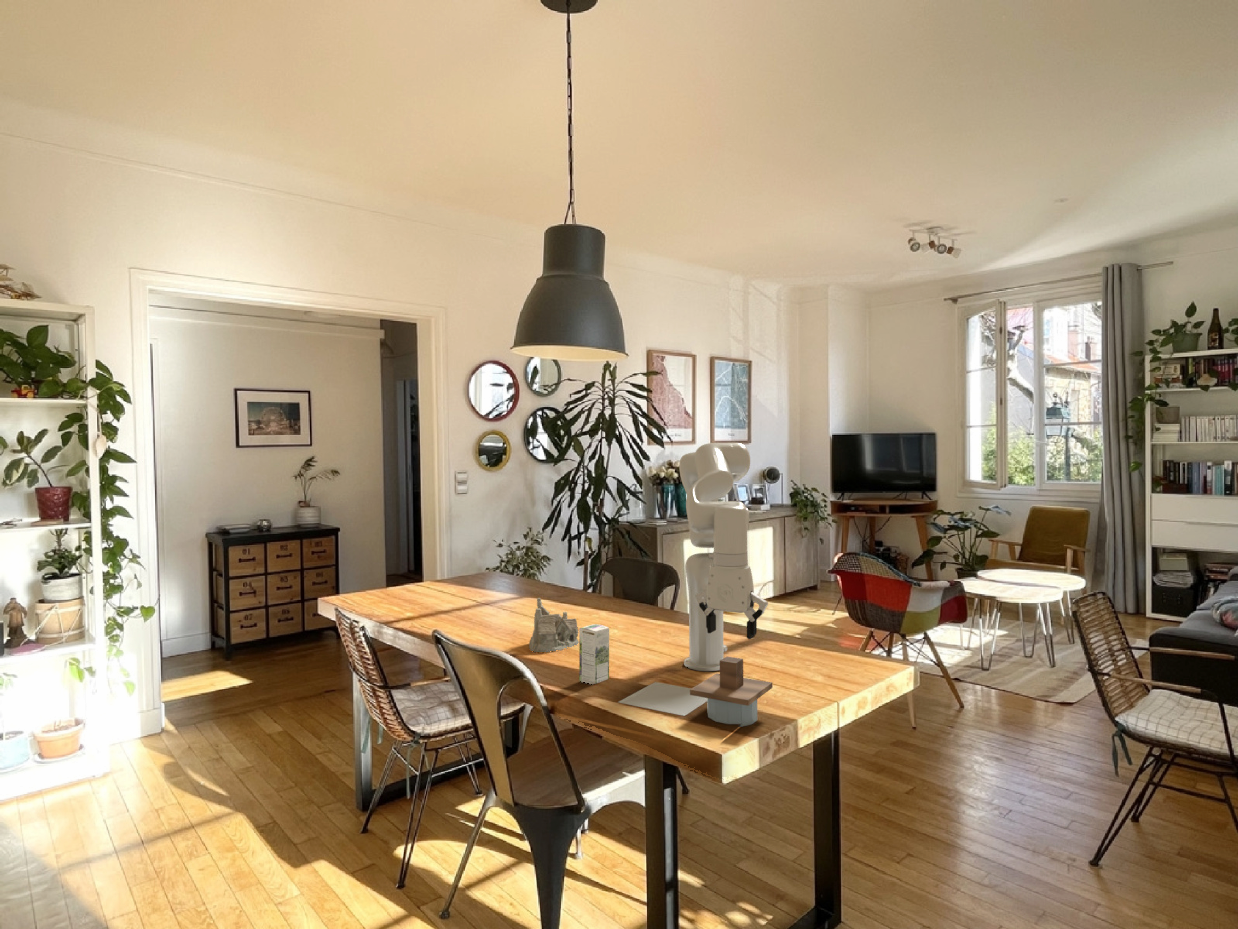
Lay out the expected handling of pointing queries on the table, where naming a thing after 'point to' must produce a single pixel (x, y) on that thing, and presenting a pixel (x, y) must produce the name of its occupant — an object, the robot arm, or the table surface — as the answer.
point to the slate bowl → (732, 712)
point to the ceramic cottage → (552, 631)
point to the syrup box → (593, 654)
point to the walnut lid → (731, 684)
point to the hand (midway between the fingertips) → (731, 634)
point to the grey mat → (665, 699)
